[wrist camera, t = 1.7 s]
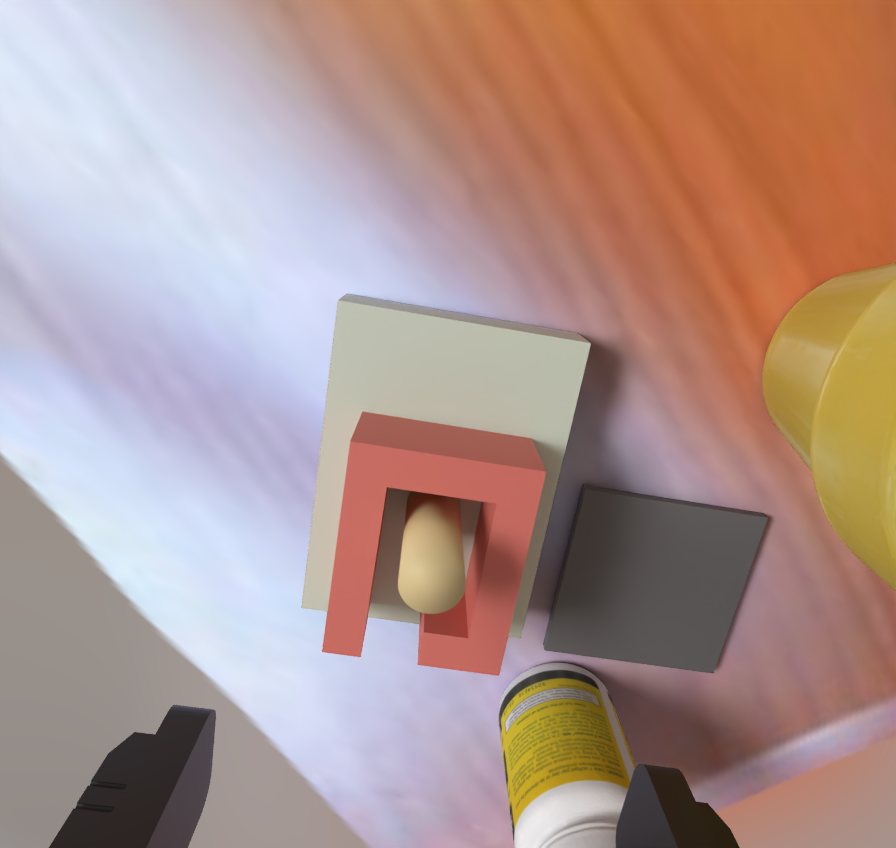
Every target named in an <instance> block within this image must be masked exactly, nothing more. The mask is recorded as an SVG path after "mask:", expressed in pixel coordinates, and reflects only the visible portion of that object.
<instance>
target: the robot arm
mask: <svg viewBox="0 0 896 848" xmlns="http://www.w3.org/2000/svg"><path fill="white" fill-rule="evenodd" d="M215 720H216V713H215V710H211V709H204V708H196V707H187V706H180V705H173V706H172V707H171V709H170V710H169V711H168V713H167V715H166V717H165V718H164V720H163V722H162V724H161V726H160V727H159V729H158V731H157V733H156V734H155V735H153V734H145V733H137V732H134V733H133V734H132V735H131V736H130V737H128V738H127V739H126V740H125V741H123V742H122V743H121V744H120V745H118V746H117V747H116V748H115V749H114V750H112V751H111V752H110V753H109V754H108V755H107V757H106V758H105V760H104V761H103V763H102V765H101V766H100V768H99V769H98V771H97V773H96V774H95V776H94V777H93V779H92V780H91V784H90V786H88V787H87V788H86V790H85V791H84V793H83V795H82V796H81V798H80V799H79V801H78V802H77V806H76V808H75V809H73V810H72V812H71V814H70V815H69V817H68V818H67V820H66V821H65V823H64V825H63V826H62V828H61V829H60V831H59V832H58V834H57V836H56V837H55V839H54V841H53V842H52V844H51V845H50V847H49V848H188V845H189V843H190V841H191V838H192V836H193V833H194V831H195V828H196V826H197V823H198V821H199V818H200V816H201V813H202V810H203V807H204V804H205V801H206V797H207V793H208V789H209V784H210V778H211V770H212V757H213V745H214V732H215ZM616 848H739V846H738V844H737V842H736V840H735V838H734V836H733V834H732V832H731V830H730V828H729V827H728V826H727V825H726V824H725V823H724V821H723V820H722V819H721V818H720V817H719V816H718V815H717V813H716V812H715V811H714V810H713V809H712V808H711V807H710V806H709V804H708V803H702V802H696V801H695V799H694V797H693V795H692V792H691V790H690V788H689V786H688V784H687V782H686V779H685V777H684V776H683V774H682V772H681V771H680V770H678V769H675V768H667V767H659V766H651V765H643V764H639V765H637V766H636V768H635V770H634V772H633V775H632V778H631V782H630V785H629V788H628V791H627V794H626V798H625V801H624V804H623V807H622V810H621V814H620V817H619V820H618V823H617V828H616Z"/></svg>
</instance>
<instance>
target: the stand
mask: <svg viewBox="0 0 896 848" xmlns="http://www.w3.org/2000/svg"><path fill="white" fill-rule="evenodd" d="M590 346H591V343H590V342H589V341H587V340H586V339H585V338H583V337H582V336H581V335H579V334H578V333H574V332H568V331H562V330H556V329H551V328H545V327H539V326H533V325H527V324H521V323H515V322H510V321H504V320H498V319H492V318H486V317H480V316H474V315H469V314H463V313H457V312H451V311H445V310H439V309H433V308H428V307H422V306H416V305H410V304H404V303H398V302H393V301H387V300H381V299H375V298H369V297H363V296H357V295H352V294H346V295H344V296H343V297H342V298H340V299H339V300H338V304H337V312H336V321H335V329H334V338H333V346H332V354H331V363H330V371H329V380H328V388H327V396H326V405H325V413H324V422H323V430H322V439H321V447H320V455H319V464H318V472H317V481H316V489H315V497H314V506H313V514H312V523H311V531H310V540H309V548H308V556H307V565H306V573H305V582H304V590H303V598H302V607H301V608H306V609H314V610H321V611H328V604H329V597H330V589H331V581H332V574H333V566H334V559H335V551H336V544H337V536H338V529H339V521H340V514H341V506H342V499H343V491H344V484H345V476H346V469H347V461H348V454H349V446H350V440H351V438H352V436H353V433H354V431H355V428H356V426H357V423H358V421H359V419H360V416H361V414H362V411H363V412H369V413H376V414H382V415H388V416H394V417H401V418H407V419H413V420H419V421H426V422H432V423H438V424H445V425H451V426H457V427H463V428H470V429H476V430H482V431H489V432H495V433H501V434H507V435H514V436H520V437H526V438H532V441H533V443H534V445H535V447H536V450H537V452H538V454H539V456H540V459H541V461H542V463H543V466H544V468H545V470H546V475H545V480H544V484H543V488H542V493H541V497H540V501H539V505H538V510H537V514H536V518H535V523H534V527H533V531H532V536H531V540H530V544H529V549H528V553H527V557H526V561H525V566H524V570H523V574H522V579H521V583H520V587H519V592H518V596H517V600H516V604H515V609H514V613H513V617H512V622H511V626H510V630H509V635H508V636H509V637H516V638H521V634H522V630H523V626H524V621H525V617H526V613H527V609H528V605H529V601H530V596H531V592H532V588H533V584H534V580H535V575H536V571H537V567H538V563H539V559H540V555H541V550H542V546H543V542H544V538H545V534H546V529H547V525H548V521H549V517H550V513H551V509H552V504H553V500H554V496H555V492H556V488H557V483H558V479H559V475H560V471H561V467H562V463H563V458H564V454H565V450H566V446H567V442H568V438H569V433H570V429H571V425H572V421H573V417H574V412H575V408H576V404H577V400H578V396H579V392H580V387H581V383H582V379H583V375H584V371H585V366H586V362H587V358H588V354H589V350H590ZM481 503H482V502H481V501H475V500H468V499H462V498H455V497H449V496H442V495H435V494H429V493H422V492H416V491H409V490H402V489H396V488H389V487H388V492H387V499H386V505H385V512H384V518H383V525H382V531H381V537H380V544H379V550H378V557H377V563H376V570H375V576H374V583H373V589H372V595H371V602H370V608H369V613H368V617H371V618H379V619H386V620H393V621H400V622H408V623H415V624H420V612H421V613H426V614H438V613H442V612H445V611H448V610H450V609H451V608H453V607H454V606H456V605H457V604H458V603H459V601H460V600H461V599H462V597H463V595H464V592H465V588H466V577H467V572H468V567H469V562H470V557H471V552H472V547H473V542H474V537H475V532H476V527H477V522H478V517H479V513H480V508H481Z"/></svg>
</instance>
